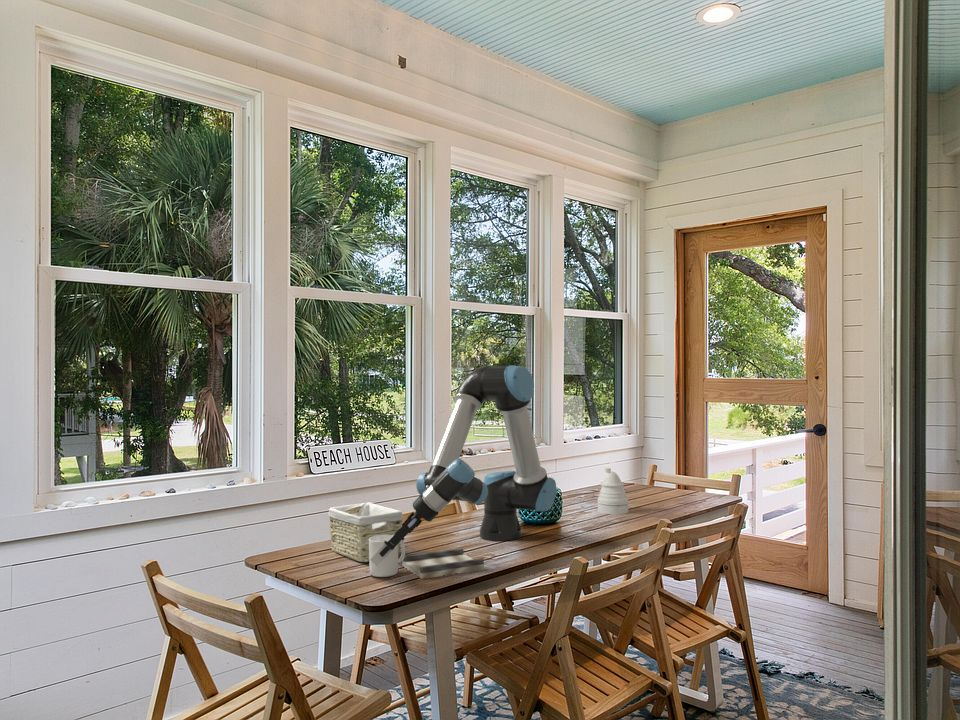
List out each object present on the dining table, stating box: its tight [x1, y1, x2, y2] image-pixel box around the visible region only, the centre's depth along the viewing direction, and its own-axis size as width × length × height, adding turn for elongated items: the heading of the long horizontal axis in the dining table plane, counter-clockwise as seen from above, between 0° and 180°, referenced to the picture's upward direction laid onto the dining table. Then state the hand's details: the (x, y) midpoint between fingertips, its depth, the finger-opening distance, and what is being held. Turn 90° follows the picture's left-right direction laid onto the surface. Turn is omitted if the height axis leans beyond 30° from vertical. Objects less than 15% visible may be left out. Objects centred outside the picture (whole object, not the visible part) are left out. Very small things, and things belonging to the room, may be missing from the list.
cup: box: [368, 535, 406, 578], centre depth 203 cm, size 8×12×10 cm
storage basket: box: [327, 501, 404, 563], centre depth 227 cm, size 24×16×15 cm
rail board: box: [401, 548, 485, 580], centre depth 209 cm, size 20×16×3 cm
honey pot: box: [597, 467, 629, 515], centre depth 295 cm, size 13×13×18 cm
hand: (378, 557), depth 203 cm, fingers closed on cup, 10 cm apart
